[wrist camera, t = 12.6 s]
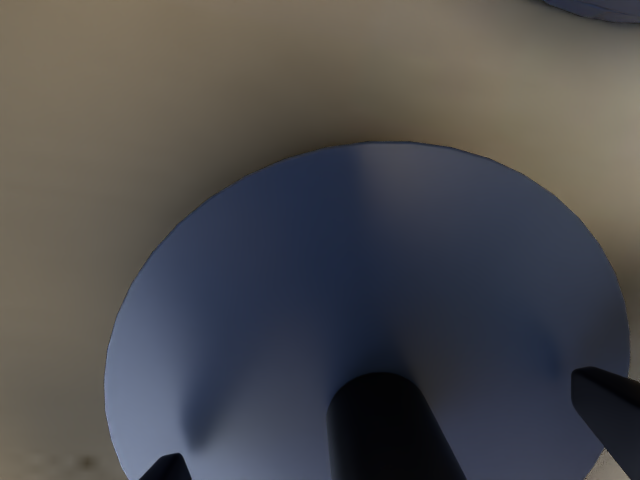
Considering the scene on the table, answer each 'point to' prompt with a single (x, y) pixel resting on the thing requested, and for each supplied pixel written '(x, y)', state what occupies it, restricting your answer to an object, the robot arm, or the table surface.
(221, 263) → the pot lid
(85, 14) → the table surface
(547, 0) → the pot
